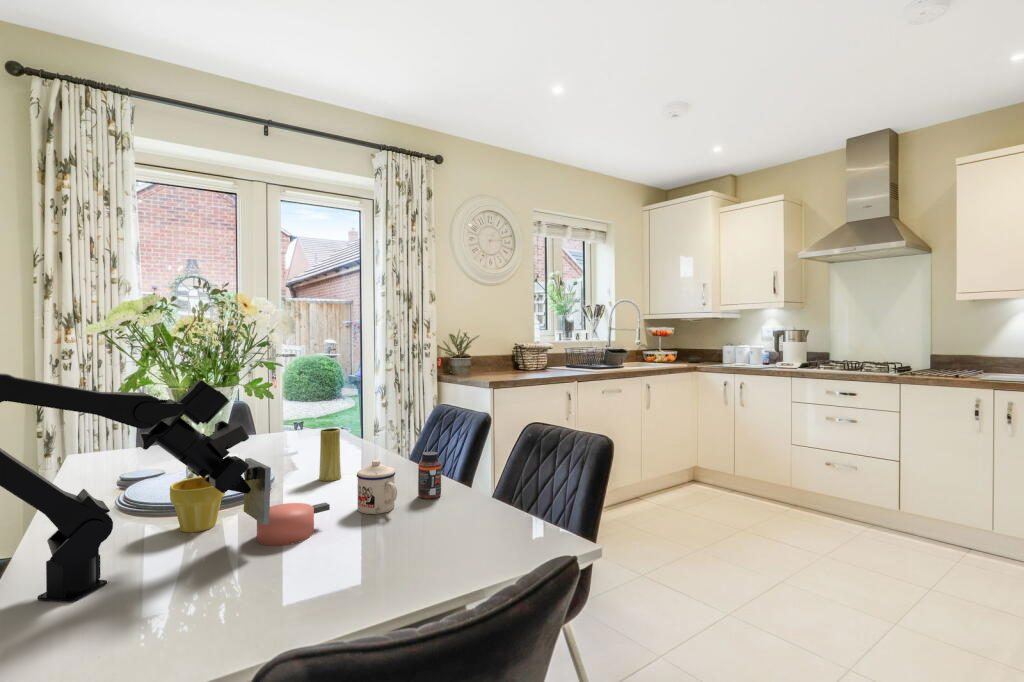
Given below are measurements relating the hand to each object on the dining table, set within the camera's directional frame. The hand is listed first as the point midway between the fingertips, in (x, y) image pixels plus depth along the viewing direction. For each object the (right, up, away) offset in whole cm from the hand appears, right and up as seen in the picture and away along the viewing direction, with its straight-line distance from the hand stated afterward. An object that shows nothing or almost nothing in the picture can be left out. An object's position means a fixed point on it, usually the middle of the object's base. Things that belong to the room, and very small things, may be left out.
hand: (248, 491), depth 105 cm
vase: (0, -10, +48) cm, 49 cm away
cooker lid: (+1, 0, +1) cm, 2 cm away
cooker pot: (+6, -11, +7) cm, 14 cm away
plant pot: (-16, -11, +10) cm, 21 cm away
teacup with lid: (+21, -11, +22) cm, 32 cm away
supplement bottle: (+31, -11, +32) cm, 46 cm away
